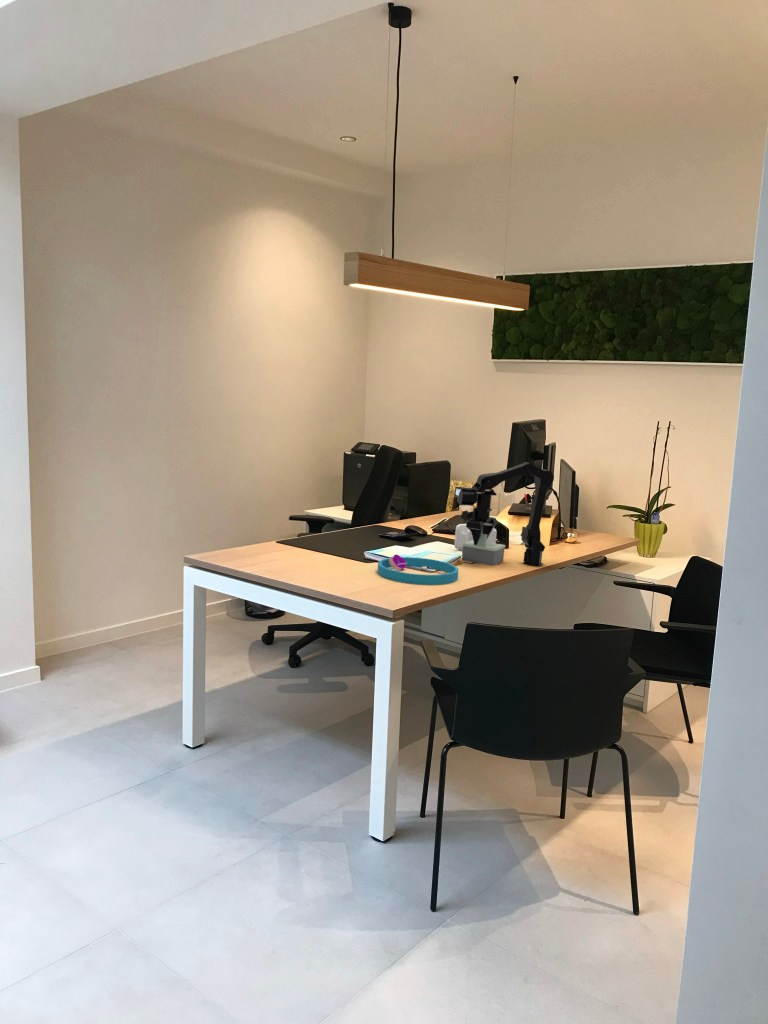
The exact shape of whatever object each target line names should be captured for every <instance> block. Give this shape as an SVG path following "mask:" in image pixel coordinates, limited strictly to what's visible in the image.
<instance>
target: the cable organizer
mask: <svg viewBox="0 0 768 1024" xmlns="http://www.w3.org/2000/svg"><path fill="white" fill-rule="evenodd" d="M454 533H455V534H454V544H453V545H454V548H455V549H456V550H458V549H459V550H458V551H460V550H461V551H463V546H462V545H463V543H465V542H469V541H472V540H473V536H472V532H471V531H470V530H469V529H468V528H467V527H466V523H459V524H458V525H456V527H455V532H454ZM487 542H489V543H495V544H497V543H496V542H497V528H495V527H494V528H493V530H492V532H491V533H490V535H489V537H488V539H487Z"/></svg>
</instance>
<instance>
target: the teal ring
mask: <svg viewBox="0 0 768 1024" xmlns="http://www.w3.org/2000/svg"><path fill="white" fill-rule="evenodd" d="M423 566H427V567H431V568H432V570H437V571H436V572H435V571H433V573H434V574H420V573H419V574H418V573H410V572H404V571H402V570H404V569H405V568H406V567H414V568H421V570H422V571H427V569H429V568H427V567H423ZM431 568H430V569H431ZM377 573H378V575H379V576H380V577H382V578H385V579H387V580H391V581H395V582H398V583H405V584H410V585H411V584H413V585H423V586H424V585H426V586H436V585H437V586H439V585H448V584H451V583H455V582H457V581H458V578H459V567H457V565H454V564H452V563H449V562H445V561H441V560H437V559H432V558H431V559H430V558H423V557H414V556H413V557H412V556H411V557H410V556H403V557H402V556H401V555H399V554H394V555H393V556H391V557H390V556H389V558H383V559H381V560H379V561H378V563H377Z"/></svg>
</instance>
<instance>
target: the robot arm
mask: <svg viewBox="0 0 768 1024" xmlns="http://www.w3.org/2000/svg"><path fill="white" fill-rule="evenodd" d="M525 474H529V476H530V477H533V478H534V488H535V489H534V490H535V491H534V496H533V499H532V500H533V501H532V505H531V510H530V514H529V518H528V522H527V525H526V526H522V528H521V533H520V536H521V541H522V543H523V544H524V546H525V547H524V548H525V551H524V553H523V562H522V564H524V565H529V566H534V567H535V566H536V567H539V566H541V565H543V562H542V559H543V552H544V551H545V549H546V546H545V544H543V542H542V541H541V536H542V535H541V528H540V525H541V521H542V516H543V511H544V508H545V507H544V506H545V502H546V497H547V493H548V492H549V489H550V488H551V487H552V484H553V481H554V479H555V475H554V473H553V472H552V471H550V470H548V469H544V468H540V467H538V466H535V465H534V464H533V463H531V462H527V461H525V462H522V463H520V464H518V465H515V466H512V467H508V468H507V469H504V470H501V471H498V472H488V473H483V474H480V475H479V476H478V478H477V479H476V482H475V483H474V485H472V487H471V488H467V487H460V491H459V493H458V495H457V503H458V504H459V506H462V505H463V506H474V505H475V507H474V508H473V511H468V510H464V511H463V510H462V511H461V513H460V519H462V521H463V522H465V524H466V527H467V528H468V529H469V530H470V531H471V532H472V536H473V541H474V545H477V544H478V541H479V539H480V537H481V534H487V539H488V537H489V535H490V533H491V532H492V530H493V528H495V527H496V525H498V523H497V522H498V519H497V518H496V517H493V516H491V515H490V513H491V512H492V511H493V509H492V508H491V507H492V506H491V502H492V496H497V493H496V491H495V490H494V488H496V487H497V486H499V485H500V484H501V483H503V482H506V481H508V480H511V479H514V478H517V477H520V476H523V475H525Z"/></svg>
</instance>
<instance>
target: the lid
mask: <svg viewBox="0 0 768 1024" xmlns="http://www.w3.org/2000/svg"><path fill="white" fill-rule="evenodd" d="M462 546H467V547H473V548H478V549H484V550H490V551H497V550H500V549H503V548H504V549H505V548H506V545H505V544H502V543H501V544H500V543H496V544H495V543H489V542H487V534H481V537H480V539H479V541H478V544H477V545H474V541H473V540H472V541H469V542H465V543H463V545H462Z"/></svg>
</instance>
